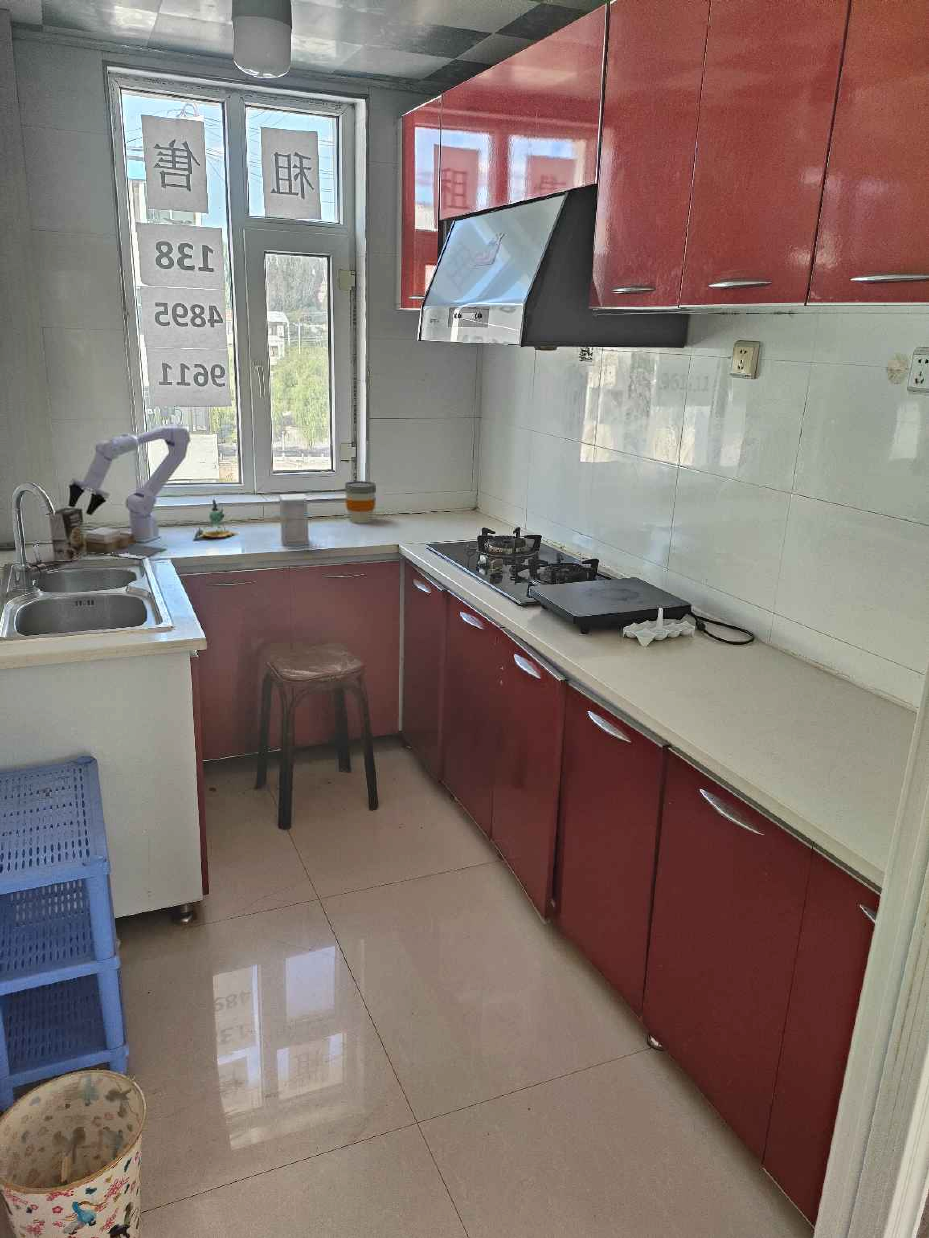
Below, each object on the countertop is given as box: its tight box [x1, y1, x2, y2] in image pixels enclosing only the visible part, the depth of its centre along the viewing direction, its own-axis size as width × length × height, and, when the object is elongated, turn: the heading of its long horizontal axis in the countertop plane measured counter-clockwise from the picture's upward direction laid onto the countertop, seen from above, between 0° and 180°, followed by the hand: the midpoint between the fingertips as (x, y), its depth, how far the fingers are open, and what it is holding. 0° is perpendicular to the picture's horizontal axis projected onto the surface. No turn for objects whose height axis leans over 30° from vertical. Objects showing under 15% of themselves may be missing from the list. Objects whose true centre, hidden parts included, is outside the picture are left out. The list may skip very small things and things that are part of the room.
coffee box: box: [48, 507, 88, 561], centre depth 291 cm, size 9×6×16 cm
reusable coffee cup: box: [344, 480, 377, 524], centre depth 355 cm, size 13×13×15 cm
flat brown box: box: [85, 532, 136, 554], centre depth 306 cm, size 14×12×4 cm
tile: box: [84, 527, 122, 541], centre depth 305 cm, size 8×8×2 cm
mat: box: [109, 544, 168, 557], centre depth 303 cm, size 14×13×1 cm
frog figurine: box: [192, 499, 239, 541], centre depth 325 cm, size 10×18×15 cm, turn 123°
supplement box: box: [279, 493, 310, 547], centre depth 320 cm, size 10×9×17 cm
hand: (79, 510), depth 301 cm, fingers open, 7 cm apart
